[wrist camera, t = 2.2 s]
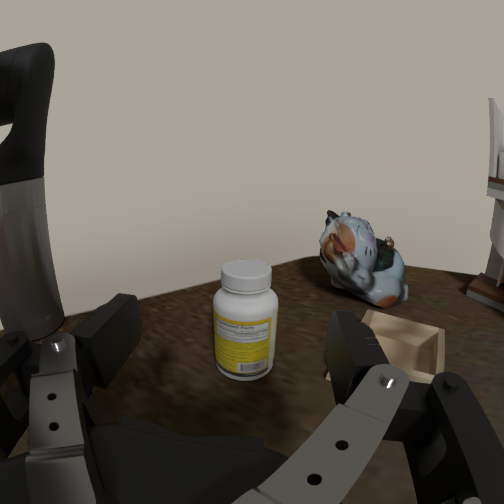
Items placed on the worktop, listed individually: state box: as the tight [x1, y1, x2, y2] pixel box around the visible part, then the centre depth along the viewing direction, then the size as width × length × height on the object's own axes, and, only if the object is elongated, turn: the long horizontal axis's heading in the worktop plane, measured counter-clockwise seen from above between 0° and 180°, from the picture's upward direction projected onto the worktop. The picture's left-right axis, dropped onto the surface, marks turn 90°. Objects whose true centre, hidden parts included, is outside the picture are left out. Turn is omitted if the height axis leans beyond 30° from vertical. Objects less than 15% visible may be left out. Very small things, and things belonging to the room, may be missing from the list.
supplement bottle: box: [213, 260, 278, 381], centre depth 24 cm, size 5×5×10 cm
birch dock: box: [326, 309, 445, 384], centre depth 24 cm, size 11×10×3 cm
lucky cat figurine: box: [319, 210, 408, 309], centre depth 40 cm, size 15×12×14 cm
